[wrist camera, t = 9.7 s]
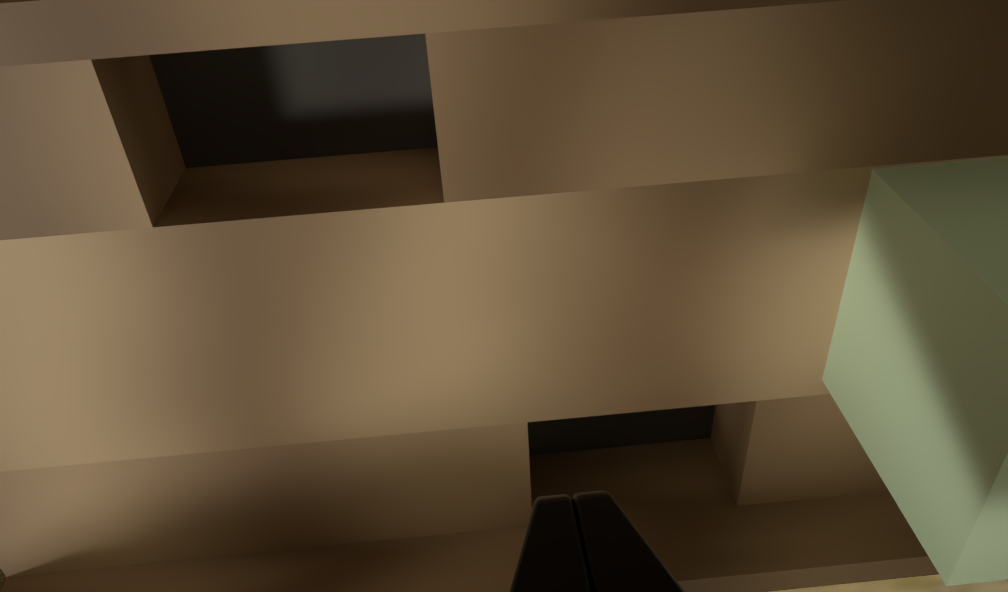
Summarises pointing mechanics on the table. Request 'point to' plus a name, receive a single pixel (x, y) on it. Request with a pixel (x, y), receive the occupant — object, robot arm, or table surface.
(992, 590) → the table surface
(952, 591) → the table surface
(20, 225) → the box
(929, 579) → the table surface
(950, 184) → the block
